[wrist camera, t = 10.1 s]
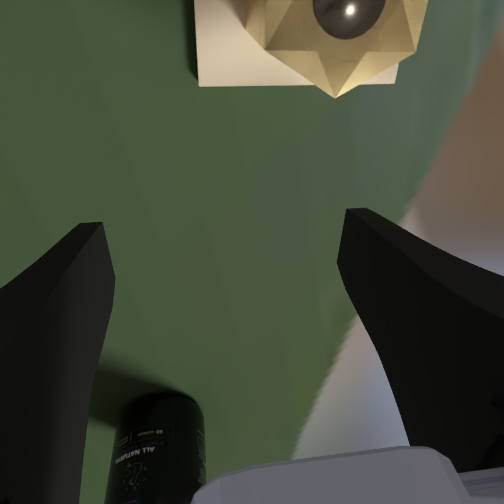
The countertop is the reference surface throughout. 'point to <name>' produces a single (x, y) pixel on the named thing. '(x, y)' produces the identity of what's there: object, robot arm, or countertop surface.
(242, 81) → the oak pad
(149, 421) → the supplement bottle
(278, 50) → the brass nut
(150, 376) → the countertop surface
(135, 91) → the countertop surface
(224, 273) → the countertop surface
